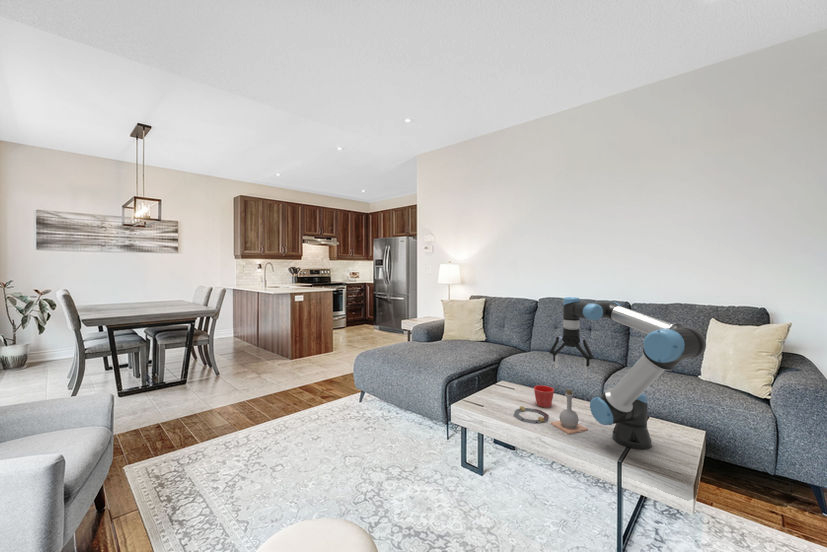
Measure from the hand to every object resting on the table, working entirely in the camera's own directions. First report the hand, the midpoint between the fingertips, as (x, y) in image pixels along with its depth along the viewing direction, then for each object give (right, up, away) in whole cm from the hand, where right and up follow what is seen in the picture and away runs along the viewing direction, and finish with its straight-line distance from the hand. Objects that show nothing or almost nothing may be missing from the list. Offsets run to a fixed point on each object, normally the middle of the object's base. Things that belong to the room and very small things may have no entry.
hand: (570, 370), depth 177 cm
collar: (-16, -27, +11) cm, 34 cm away
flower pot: (-4, -27, +26) cm, 38 cm away
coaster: (-2, -28, -2) cm, 28 cm away
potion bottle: (-2, -27, -2) cm, 27 cm away
